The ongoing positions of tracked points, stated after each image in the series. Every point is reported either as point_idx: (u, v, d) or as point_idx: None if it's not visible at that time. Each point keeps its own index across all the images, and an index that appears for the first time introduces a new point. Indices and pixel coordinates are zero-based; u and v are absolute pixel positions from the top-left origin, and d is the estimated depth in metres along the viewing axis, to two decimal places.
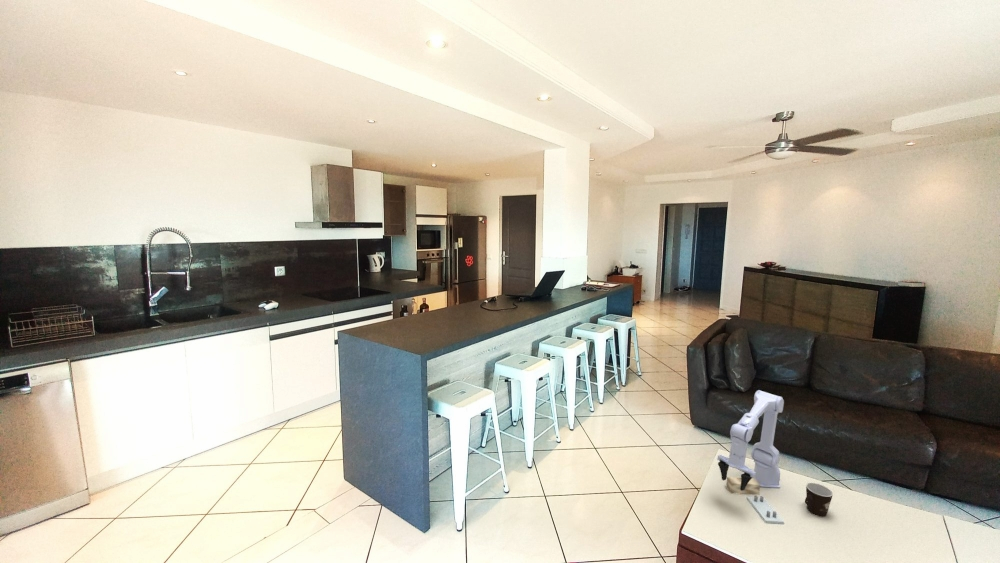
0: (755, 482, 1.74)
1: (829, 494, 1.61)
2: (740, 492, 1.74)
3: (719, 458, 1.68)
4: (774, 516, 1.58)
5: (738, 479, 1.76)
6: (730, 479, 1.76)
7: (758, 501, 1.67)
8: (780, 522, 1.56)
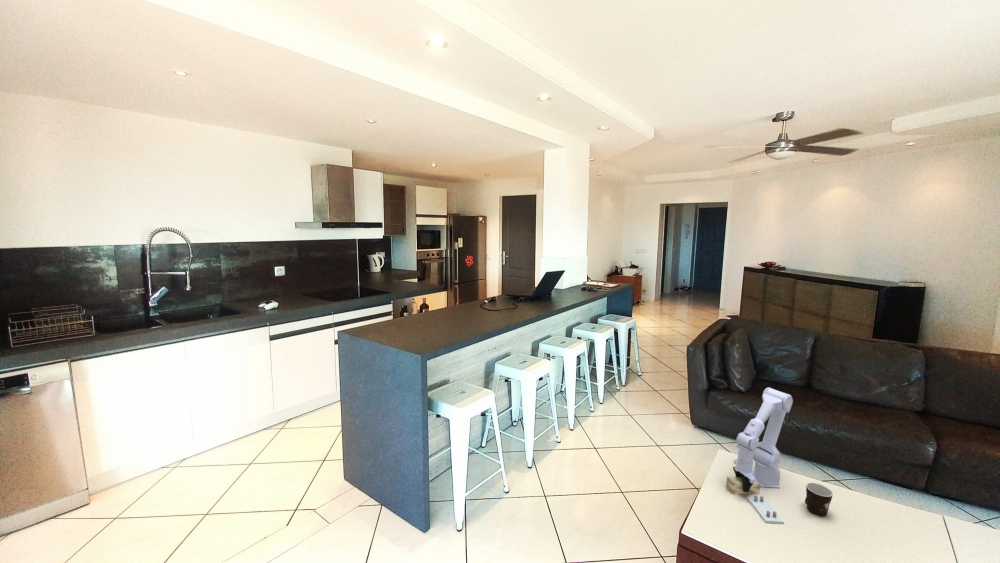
0: None
1: (829, 494, 1.61)
2: (740, 492, 1.74)
3: (734, 462, 1.81)
4: (774, 516, 1.58)
5: (738, 479, 1.76)
6: (730, 479, 1.76)
7: (758, 501, 1.67)
8: (780, 522, 1.56)
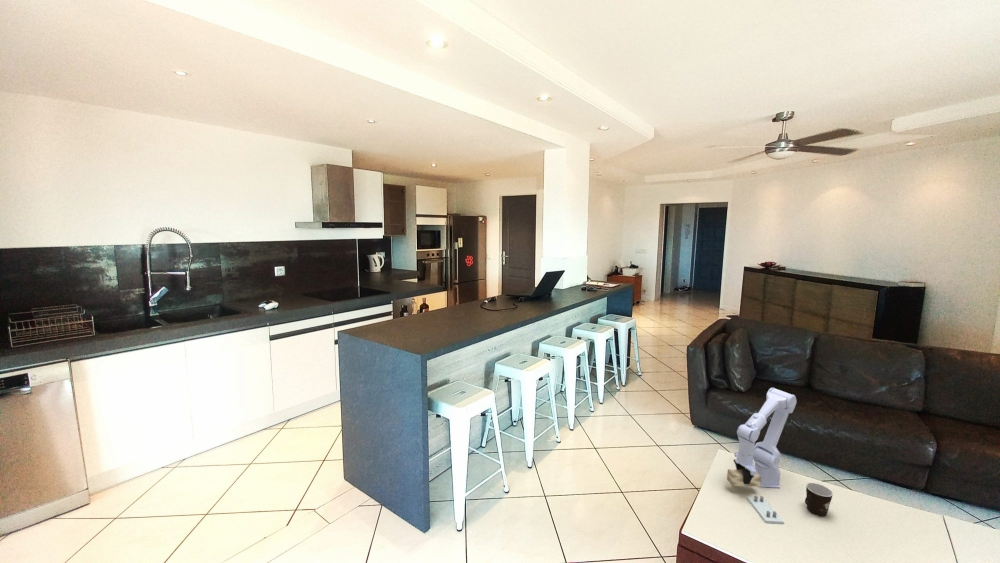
0: None
1: (829, 494, 1.61)
2: (741, 484, 1.73)
3: (735, 454, 1.80)
4: (774, 516, 1.58)
5: (739, 471, 1.76)
6: (731, 471, 1.76)
7: (758, 501, 1.67)
8: (780, 522, 1.56)
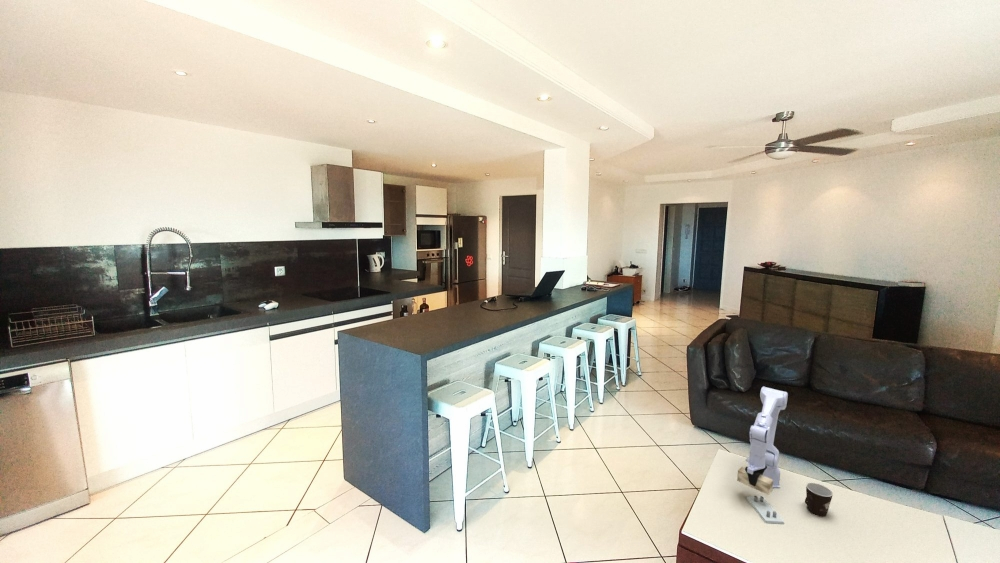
0: (767, 481, 1.64)
1: (829, 494, 1.61)
2: (747, 483, 1.69)
3: None
4: (774, 516, 1.58)
5: None
6: (742, 468, 1.72)
7: (758, 501, 1.67)
8: (780, 522, 1.56)
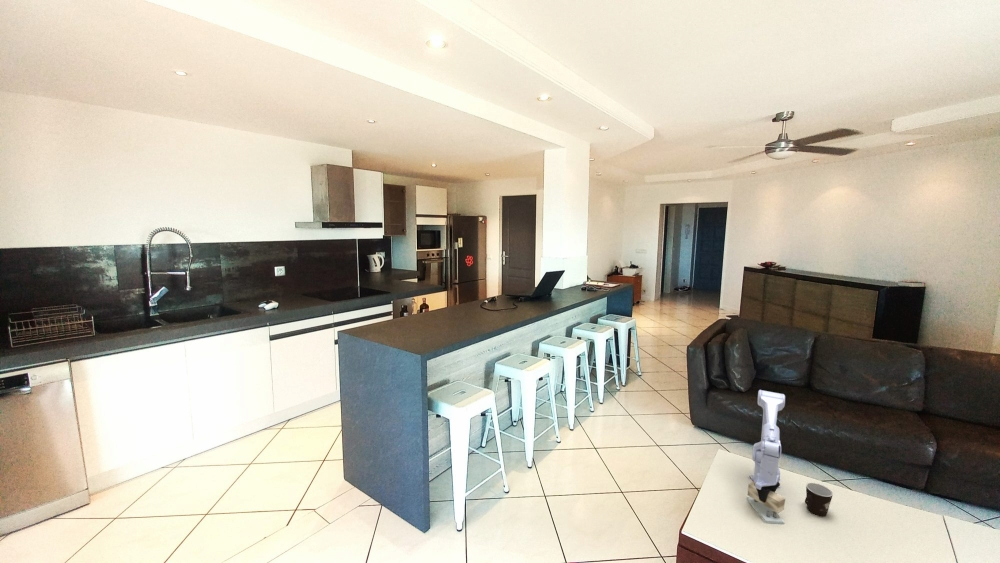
0: (777, 498, 1.58)
1: (829, 494, 1.61)
2: (757, 499, 1.63)
3: None
4: (774, 516, 1.58)
5: None
6: (754, 483, 1.67)
7: None
8: (780, 522, 1.56)
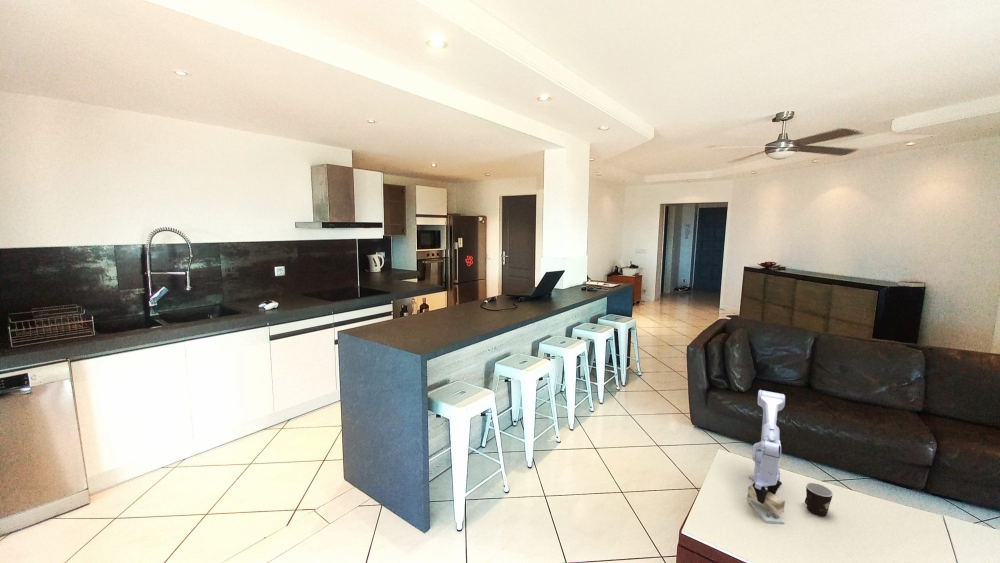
0: (777, 500, 1.58)
1: (829, 494, 1.61)
2: (757, 501, 1.64)
3: None
4: (774, 516, 1.58)
5: None
6: None
7: None
8: (780, 522, 1.56)
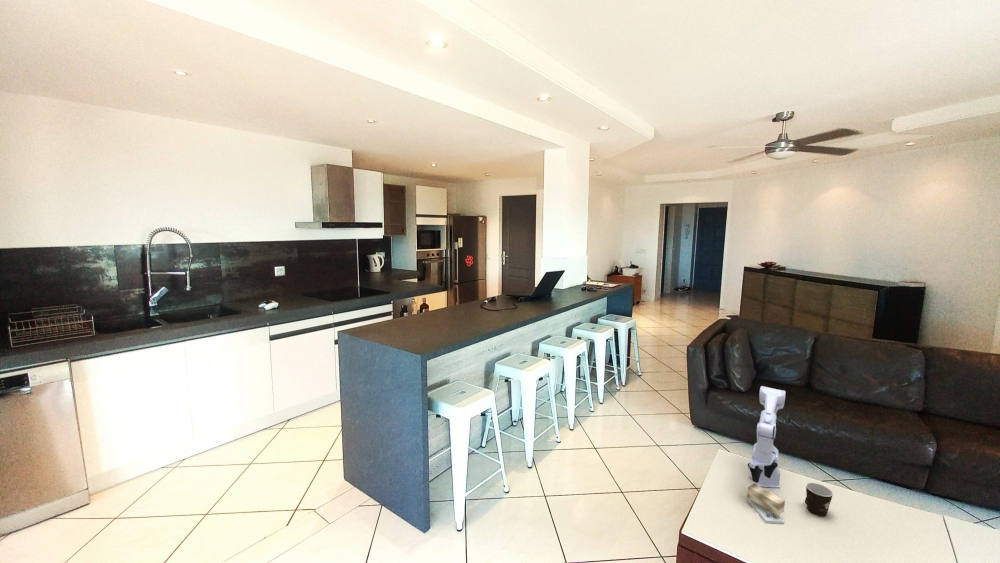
0: (777, 500, 1.58)
1: (829, 494, 1.61)
2: (757, 501, 1.64)
3: None
4: (774, 516, 1.58)
5: (763, 490, 1.64)
6: (753, 485, 1.67)
7: None
8: (780, 522, 1.56)
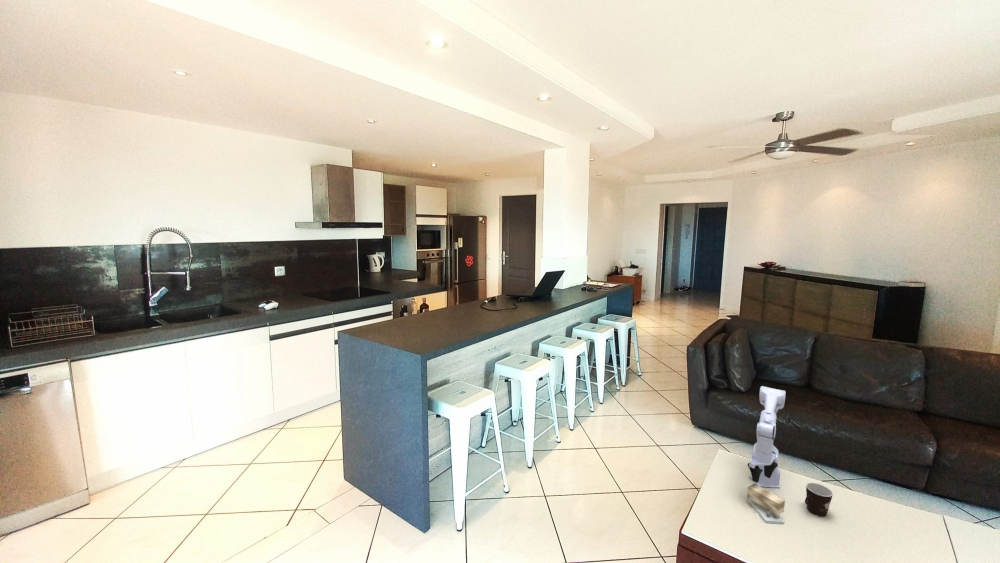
0: (777, 500, 1.58)
1: (829, 494, 1.61)
2: (757, 501, 1.64)
3: None
4: (774, 516, 1.58)
5: (763, 490, 1.64)
6: (753, 485, 1.67)
7: None
8: (780, 522, 1.56)
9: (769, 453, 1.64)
